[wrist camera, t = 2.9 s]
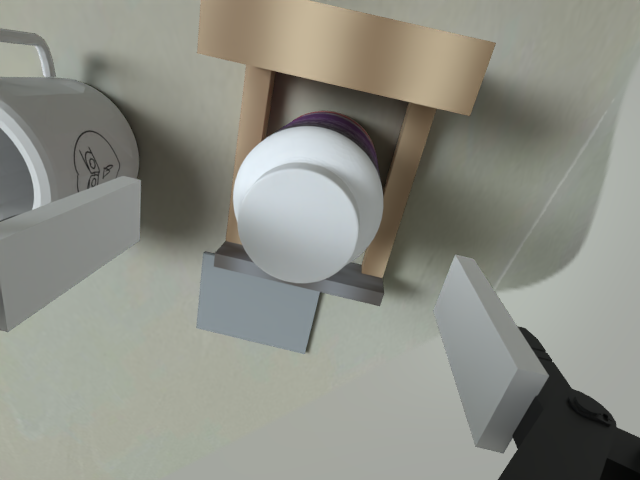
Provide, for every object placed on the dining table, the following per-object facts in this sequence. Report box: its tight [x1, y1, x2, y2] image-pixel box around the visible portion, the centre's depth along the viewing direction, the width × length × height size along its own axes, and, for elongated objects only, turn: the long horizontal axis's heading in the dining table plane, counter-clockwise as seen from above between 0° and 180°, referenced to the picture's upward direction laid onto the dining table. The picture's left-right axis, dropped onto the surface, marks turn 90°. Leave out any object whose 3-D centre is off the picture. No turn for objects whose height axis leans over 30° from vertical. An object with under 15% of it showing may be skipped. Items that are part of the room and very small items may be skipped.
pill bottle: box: [233, 111, 383, 283], centre depth 23 cm, size 8×8×14 cm
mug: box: [0, 29, 139, 220], centre depth 26 cm, size 14×11×10 cm
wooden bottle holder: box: [197, 0, 496, 306], centre depth 25 cm, size 14×18×10 cm
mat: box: [197, 252, 320, 354], centre depth 35 cm, size 11×8×1 cm
